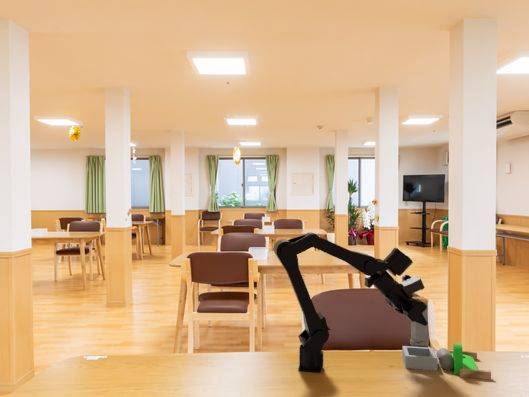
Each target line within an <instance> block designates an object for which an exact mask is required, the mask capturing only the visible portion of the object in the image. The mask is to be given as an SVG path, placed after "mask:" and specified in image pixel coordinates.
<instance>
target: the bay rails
mask: <svg viewBox="0 0 529 397" xmlns="http://www.w3.org/2000/svg"><path fill="white" fill-rule="evenodd" d="M448 350H449V352H450V354H451V353H453V349H448ZM462 351H463V354H464V355H468V356H471V357H472V358H473V359H474V360H478V352H477V351H472V350H471V351H470V350H469V351H467V350H462ZM459 377H460V378H467V379H469V378H471V379H481V380H484V379H485V380H492V372H491V370H484V369H478V370H473V369H460V374H459Z"/></svg>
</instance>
